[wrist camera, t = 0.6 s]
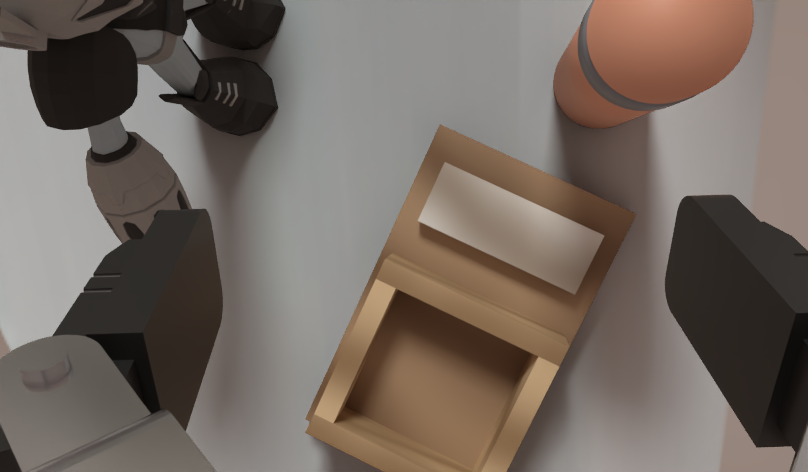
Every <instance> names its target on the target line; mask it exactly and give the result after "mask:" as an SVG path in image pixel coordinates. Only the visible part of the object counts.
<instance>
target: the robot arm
mask: <svg viewBox="0 0 808 472" xmlns="http://www.w3.org/2000/svg"><path fill="white" fill-rule="evenodd" d="M665 292H666V299H667V303H668V306H669V309H670V311H671V313H672V314H673V316H674V317H675V319H676V321H677V322H678V324H679V325H680V327H681V328H682V330H683V332H684V333H685V335H686V336H687V338H688V340H689V341H690V343H691V344H692V346H693V347H694V349H695V351H696V352H697V354H698V355H699V357H700V359H701V360H702V362H703V363H704V365H705V366H706V368H707V370H708V371H709V373H710V374H711V376H712V378H713V379H714V381H715V382H716V384H717V386H718V387H719V389H720V390H721V392H722V393H723V395H724V397H725V398H726V400H727V401H728V403H729V405H730V406H731V408H732V409H733V411H734V412H735V414H736V416H737V417H738V419H739V420H740V422H741V424H742V425H743V427H744V428H745V430H746V432H747V433H748V434H749V436H750V438H751V439H752V441H753V443H754V444H755V445H756V447H781V446H782V447H783V446H792V448H793V449H794V451H795V455H794V458H793V462H792V464H791V467H790V471H789V472H808V251H807V250H806V249H805V248H804V247H803V246H802V245H801V244H800V243H799V242H798V241H797V240H796V239H795V238H793V237H792V236H790V235H789V234H787V233H785V232H783V231H781V230H779V229H777V228H775V227H773V226H771V225H769V224H767V223H765V222H760V221H759V220H758V219H757V218H756V217H755V216H754V215H753V214H752V213H751V212H750V211H749V210H748V209H747V208H746V207H745V206H744V205H743V204H742V203H741V202H740V201H739V200H738V199H737V198H736V197H734V196H733V195H702V196H686V197H684V198H683V199H682V201H681V202H680V205H679V208H678V211H677V217H676V222H675V227H674V233H673V238H672V244H671V249H670V254H669V260H668V265H667V271H666V277H665ZM222 309H223V297H222V287H221V280H220V274H219V268H218V262H217V256H216V250H215V243H214V237H213V231H212V225H211V220H210V216H209V214H208V212H207V210H206V209H183V210H160V211H159V212H158V213H157V215H156V216H155V218H154V220H153V221H152V223H151V225H150V227H149V228H148V230H147V232H146V233H145V235H144V237H143V238H142V239H130V240H127V241H126V242H124V243H123V244H121V245H120V246H119V247H117V248H116V249H114V250H113V251H111V252H110V253H109V254H107V255H106V256H105V257H104V259H103V260H102V262H101V263H100V265H99V266H98V268H97V269H96V271H95V272H94V277H91V278H90V280H89V281H88V283H87V284H86V286H85V287H84V293H80V295H79V296H78V298H77V299H76V301H75V303H74V304H73V306H72V307H71V309H70V310H69V312H68V313H67V315H66V316H65V318H64V319H63V321H62V322H61V324H60V325H59V327H58V328H57V330H56V331H55V333H54V334H53V336H51V337H46V338H42V339H38V340H35V341H32V342H30V343H27V344H25V345H22V346H20V347H18V348H16V349H14V350H12V351H11V352H9V353H8V354H6V355H5V356H3V357H2V358H1V359H0V472H216V470H215V469H214V468H213V466H212V465H211V464H210V462H209V461H208V460H207V459H206V457H205V456H204V455H203V453H202V452H201V451H200V450H199V448H198V447H197V446H196V444H195V443H194V442H193V440H192V439H191V438H190V437H189V435H188V434H187V433H186V429H187V425H188V422H189V419H190V416H191V413H192V410H193V407H194V404H195V401H196V398H197V395H198V392H199V389H200V386H201V383H202V379H203V376H204V373H205V370H206V367H207V364H208V361H209V358H210V355H211V352H212V349H213V346H214V343H215V340H216V337H217V333H218V330H219V327H220V324H221V319H222Z"/></svg>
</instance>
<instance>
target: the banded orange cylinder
mask: <svg viewBox="0 0 808 472" xmlns="http://www.w3.org/2000/svg"><path fill="white" fill-rule="evenodd" d="M752 27H753V4H752V0H593V1H592V3H591V4H590V6H589V8H588V10H587V11H586V13H585V15H584V17H583V20H582V22H581V25H580V26H579V28H578V30H577V31H576V33H575V35H574V37H573V38H572V40H571V42H570V43H569V45H568V47H567V49H566V50H565V52H564V54H563V55H562V57H561V59H560V61H559V62H558V65H557V67H556V70H555V74H554V93H555V97H556V100H557V102H558V104H559V106H560V108H561V109H562V111H563V112H564V113H565V114H566V115H567V116H568V117H569V118H570V119H571V120H573V121H574V122H576V123H578V124H580V125H582V126H585V127H589V128H597V129H600V128H609V127H613V126H616V125H619V124H621V123H624V122H626V121H629V120H632V119H634V118H637V117H639V116H642V115H644V114H647V113H650V112H652V111H655V110H659V109H663V108H666V107H669V106H672V105H674V104H677V103H680V102H682V101H685V100H687V99H689V98H692V97H694V96H696V95H697V94H699V93H701V92H703V91H705V90H707V89H709V88H711V87H712V86H714V85H716V84H717V83H719V82H720V81H721V80H722V79H724V78H725V77H726V76H727V75H728V74H729V73H730V72H731V71H732V70H733V69H734V67H735V66H736V65H737V64H738V62H739V61H740V59H741V58H742V56H743V54H744V52H745V50H746V48H747V46H748V43H749V40H750V37H751V33H752Z"/></svg>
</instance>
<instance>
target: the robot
mask: <svg viewBox="0 0 808 472" xmlns="http://www.w3.org/2000/svg"><path fill="white" fill-rule="evenodd" d="M284 11H285V7H284V5H283V3H282V1H281V0H0V46H1V47H7V48H14V49H22V50H28V73H29V81H30V87H31V90H32V94H33V97H34V100H35V103H36V106H37V108H38V111H39V113H40V115H41V117H42V119H43V121H44V122H45V124H46V125H47V126H49V127H53V128H57V129H62V130H76V129H83V128H88V131H89V136H90V140H91V145H92V146H91V148H90V149H89V150H88V151H87V156H86V168H87V179H88V186H89V187H90V188H91V191H92V193H93V196H94V199H95V202H96V204H97V207H98V208H99V210H100V211H101V213H102V215H103V216H104V218H105V220H106V221H107V223H108V224H109V226H110V227H111V229H112V230H113V232H114V233H115V235H116V236H117V237H118V239H119V240H120V241H121V243H122V244H123V243H124V242H126V241H127V240H130V239H142V238H143V237H144V235H145V233H146V232H147V230H148V228H149V227H150V225H151V223H152V221H153V220H154V218H155V216H156V215H157V213H158V212H159V211H160V210H183V209H192V207H191V205H190V203H189V200H188V198H187V195H186V193H185V191H184V189H183V186H182V184H181V182H180V180H179V178H178V176H177V174H176V173H175V171H174V170H173V169H172V168H171V166H170V165H169V164H168V162H167V161H166V160H165V159H164V157H163V154H162V153H160V152H159V151H158V150H157V149H155V148H154V147H153V146H152V145H151V144H149V143H148V142H147V141H146V140H144V139H143V138H142V137H141V136H140V135H138V134H137V133H136V132H127V131H125V129H124V127H123V125H122V123H121V121H120V117H119V116H120V115H122V114H123V113H124V112H125V111H126V110H127V109H129V108H130V107H131V106H132V104H133V102H134V100H135V98H136V96H137V84H138V66H137V64H143V65H149V66H150V67H151V68H152V69H153V70H154V71H155V72H156V73H157V74H158V75H159V76H160V77H161V78H162V79H163V80H164V81H166V82H167V83H168V84H169V85H170V86H171V87H172V88H173V89H174V90H176V91H177V94H160V95H159V97H160V98H161V99H162V100H163V101H165V102H170V103H176V104H181V105H183V107H185V108H186V109H187V110H188V111H190V112H191V113H193V114H194V115H196V116H197V117H198V118H200V119H201V120H203V121H204V122H206V123H207V124H209V125H210V126H212V127H213V128H215V129H217V130H219V131H223V132H226V133H230V134H234V135H238V136H242V135H245V134H249V133H252V132H255V131H259V130H261V129H262V127H263V126H264V125H265V123H266V122H267V121H268V119H269V118H270V117H271V116H272V114H273V113H274V112H275V110H276V109H277V108H278V106H277V101H276V96H275V92H274V87H273V82H272V79H271V78H270V77H269V76H268V74H267V73H266V72H265V71H264V70H263V69H262V68H261V67H260V66H259V65H258V64H257V63H254V62H250V61H246V60H243V59H239V58H235V57H222V58H214V59H206V60H199V59H198V57H197V56H196V55H195V54H194V52H193V51H192V50H191V48H190V47H189V46H188V45H187V43H186V42H185V41H184V39H183V35H184V34H185V31H186V28H187V20H188V19H191V20H192V22H193V23H194V25H195V27H196V28H197V30H198V31H199V32H200V33H201V34H202V35H203V36H205V37H206V38H207V39H209V40H211V41H212V42H215V43H219V44H222V45H226V46H229V47H233V48H236V49H240V50H252V49H259V48H260V47H261V46H262V45H264V44H265V43H266V42H268V41H269V40H270V39H272V38H273V37H274V36H275V34H276V32H277V29H278V26H279V24H280V21H281V19H282V16H283V13H284Z"/></svg>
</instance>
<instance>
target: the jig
mask: <svg viewBox="0 0 808 472" xmlns="http://www.w3.org/2000/svg"><path fill="white" fill-rule="evenodd" d="M635 216H636V214H635V213H633V212H631V211H628V210H626V209H624V208H622V207H620V206H617V205H615V204H613V203H611V202H609V201H606V200H604V199H602V198H600V197H598V196H596V195H593V194H591V193H589V192H587V191H585V190H582V189H580V188H578V187H576V186H574V185H571V184H569V183H567V182H565V181H563V180H560V179H558V178H556V177H554V176H552V175H550V174H547V173H545V172H543V171H541V170H539V169H536V168H534V167H532V166H530V165H528V164H525V163H523V162H521V161H519V160H517V159H515V158H512V157H510V156H508V155H506V154H504V153H501V152H499V151H497V150H495V149H493V148H490V147H488V146H486V145H484V144H482V143H480V142H477V141H475V140H473V139H471V138H469V137H466V136H464V135H462V134H460V133H458V132H455V131H453V130H451V129H449V128H447V127H444V126H442V125H440V126H439V128H438V130H437V132H436V134H435V137H434V139H433V141H432V143H431V145H430V147H429V150H428V152H427V154H426V156H425V158H424V161H423V163H422V165H421V167H420V169H419V172H418V174H417V176H416V178H415V180H414V183H413V185H412V187H411V189H410V191H409V193H408V196H407V198H406V200H405V202H404V204H403V207H402V209H401V211H400V213H399V215H398V218H397V220H396V222H395V224H394V226H393V228H392V231H391V233H390V235H389V237H388V239H387V242H386V244H385V246H384V248H383V250H382V253H381V255H380V257H379V259H378V261H377V264H376V266H375V268H374V270H373V272H372V274H371V277H370V279H369V281H368V283H367V285H366V288H365V290H364V292H363V294H362V296H361V299H360V301H359V303H358V305H357V307H356V310H355V312H354V314H353V316H352V318H351V320H350V323H349V325H348V327H347V329H346V331H345V334H344V336H343V338H342V340H341V342H340V345H339V347H338V349H337V351H336V353H335V356H334V358H333V360H332V362H331V364H330V366H329V369H328V371H327V373H326V375H325V377H324V380H323V382H322V384H321V386H320V388H319V391H318V393H317V395H316V397H315V399H314V401H313V404H312V406H311V408H310V410H309V412H308V415H307V417H306V420H308V421H310V424H309V426H308V428H307V430H306V433H307V434H309V435H311V436H313V437H315V438H317V439H319V440H321V441H323V442H325V443H327V444H329V445H331V446H333V447H335V448H337V449H339V450H341V451H343V452H345V453H347V454H349V455H351V456H353V457H355V458H357V459H359V460H361V461H363V462H365V463H367V464H369V465H371V466H373V467H375V468H377V469H379V470H381V471H383V472H507V470H508V468H509V466H510V464H511V462H512V460H513V458H514V456H515V454H516V452H517V450H518V448H519V446H520V444H521V442H522V440H523V438H524V436H525V434H526V432H527V430H528V428H529V426H530V425H531V423H532V421H533V419H534V417H535V415H536V413H537V411H538V409H539V407H540V405H541V403H542V401H543V399H544V397H545V395H546V393H547V391H548V389H549V387H550V385H551V383H552V381H553V379H554V377H555V375H556V373H557V371H558V369H559V367H560V365H561V363H562V361H563V359H564V357H565V355H566V353H567V351H568V349H569V347H570V345H571V343H572V341H573V339H574V337H575V335H576V333H577V331H578V329H579V327H580V325H581V323H582V321H583V319H584V317H585V315H586V313H587V311H588V309H589V307H590V305H591V304H592V302H593V300H594V298H595V296H596V294H597V292H598V290H599V288H600V286H601V284H602V282H603V280H604V278H605V276H606V274H607V272H608V270H609V268H610V266H611V264H612V262H613V260H614V258H615V256H616V254H617V252H618V250H619V248H620V246H621V244H622V242H623V240H624V238H625V236H626V234H627V232H628V230H629V228H630V226H631V224H632V222H633V220H634V218H635Z"/></svg>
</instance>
